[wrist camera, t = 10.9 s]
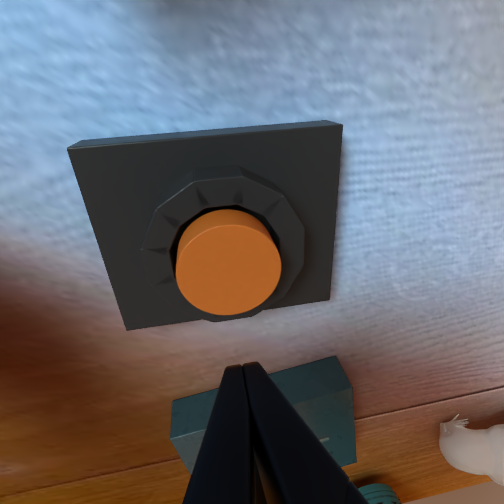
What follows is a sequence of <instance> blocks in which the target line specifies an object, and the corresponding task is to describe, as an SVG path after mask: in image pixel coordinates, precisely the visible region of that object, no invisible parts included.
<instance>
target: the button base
mask: <svg viewBox="0 0 504 504" xmlns="http://www.w3.org/2000/svg"><path fill="white" fill-rule="evenodd" d="M342 131H343V125H342V124H339V123H335V122H331V121H328V120H322V121H310V122H298V123H286V124H274V125H261V126H249V127H237V128H225V129H212V130H200V131H188V132H176V133H164V134H151V135H139V136H127V137H115V138H103V139H90V140H81V141H79V142H77V143H75V144H73V145H71V146H70V147H68V148H67V151H68V154H69V157H70V160H71V163H72V166H73V169H74V172H75V176H76V179H77V182H78V185H79V188H80V191H81V194H82V197H83V200H84V203H85V206H86V209H87V212H88V215H89V218H90V221H91V224H92V227H93V230H94V233H95V236H96V239H97V242H98V245H99V248H100V252H101V255H102V258H103V261H104V264H105V267H106V270H107V273H108V276H109V279H110V282H111V285H112V288H113V291H114V294H115V297H116V300H117V303H118V306H119V309H120V312H121V315H122V318H123V321H124V324H125V327H126V330H127V331H129V330H135V329H142V328H148V327H155V326H162V325H168V324H175V323H181V322H188V321H195V320H201V319H204V320H207V321H211V322H221V321H227V320H234V319H240V318H247V317H252V316H254V315H256V314H258V313H259V312H261V311H262V310H267V309H274V308H280V307H287V306H294V305H300V304H307V303H313V302H320V301H327V300H329V299H330V287H331V274H332V261H333V248H334V235H335V222H336V209H337V196H338V183H339V170H340V157H341V144H342ZM225 209H230V210H238V211H242V212H245V213H248V214H250V215H252V216H254V217H255V218H257V219H258V220H259V221H260V222H261V223H262V224H263V225H264V226H265V227H266V229H267V230H268V232H269V234H270V236H271V238H272V240H273V242H274V244H275V246H276V248H277V250H278V252H279V255H280V259H281V274H280V279H279V281H278V284H277V286H276V288H275V289H274V291H273V292H272V294H271V295H270V296H269V297H268V298H267V299H266V300H265V301H264V302H263V303H261V304H260V305H258V306H257V307H255V308H253V309H251V310H249V311H246V312H243V313H239V314H234V315H216V314H211V313H208V312H205V311H202V310H200V309H198V308H197V307H195V306H194V305H192V304H191V303H190V302H189V301H188V300H187V299H186V298H185V297H184V296H183V294H182V293H181V291H180V289H179V287H178V284H177V280H176V262H177V252H178V245H179V242H180V239H181V237H182V235H183V233H184V231H185V230H186V229H187V227H188V226H189V225H190V224H191V223H192V222H193V221H195V220H196V219H197V218H199V217H201V216H202V215H205V214H207V213H209V212H213V211H217V210H225Z"/></svg>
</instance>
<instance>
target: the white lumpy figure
mask: <svg viewBox="0 0 504 504" xmlns="http://www.w3.org/2000/svg"><path fill="white" fill-rule="evenodd" d="M458 415H459V414H458ZM458 415H457V416H458ZM457 416H455V417H454V418H453V419H452V420H451V421H449V422H446V423H442V422H441V423H440V438H439V448H440V450H441V452H442V454H443V456H444V458H445V459H446V461H447V462H448V463H449V464H450V465H451V466H453V467H454V468H456V469H458V470H461V471H464V472H467V473H471V474H476V475H488V476H489V477H490V478H491V479H492V480H493V481H494V482H495V483H497V484H499V485H501V486H504V424H499V425H493V426H491V427H489V428H488V429H479V430H472V429H467V428H464V427H463V426H466V425H463V424H468V423H465V422H460V421H464V420H468V419H463V420H455V419H456V418H458V417H457ZM454 420H455V421H454ZM466 422H467V421H466ZM468 422H469V421H468ZM459 424H462V425H459Z"/></svg>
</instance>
